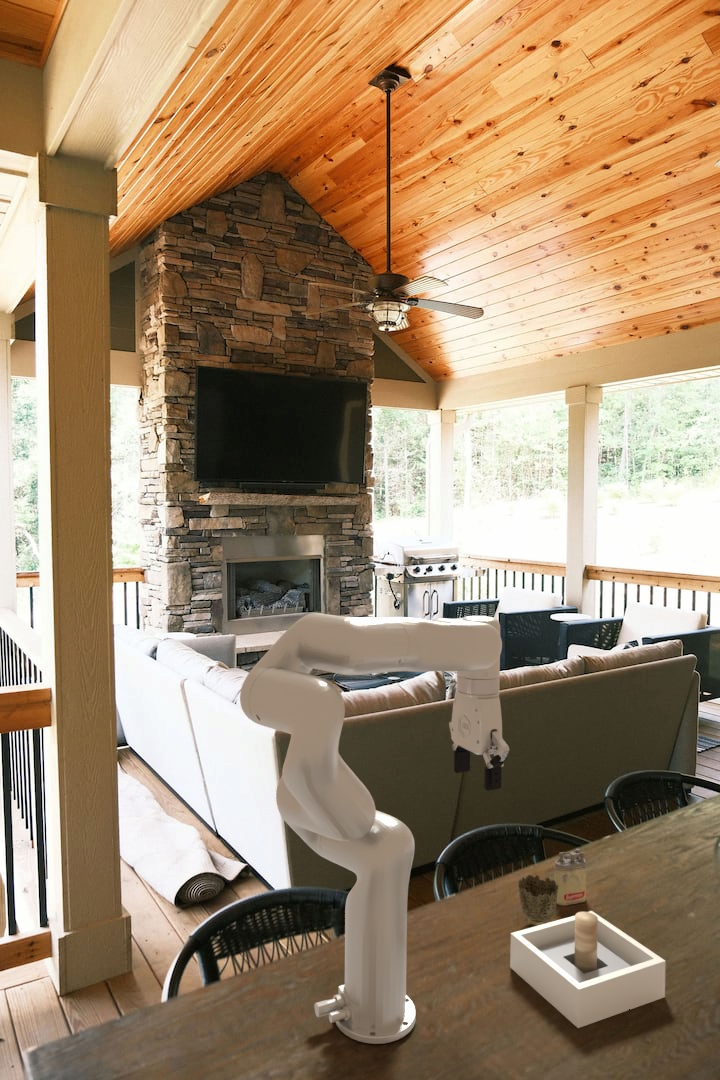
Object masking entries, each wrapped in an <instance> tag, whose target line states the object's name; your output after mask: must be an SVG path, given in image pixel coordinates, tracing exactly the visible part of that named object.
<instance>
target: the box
mask: <svg viewBox="0 0 720 1080" xmlns="http://www.w3.org/2000/svg"><path fill="white" fill-rule="evenodd" d="M588 912H589V913H592V914H594V915H596V916H597V918H598V935H597V970H594V971H591V972H588V973H585V974H584V973H583V972H581V971H580V970H579V969H578V968H576V967H575V966H574V957H575V915H572V916H569V917H564V918H560V919H557V920H554V921H549V922H548V923H546V924H542V925H538V926H535V927H532V926H531V927H527V928H524V929H522V930H517V931H514V932H510V950H509V952H510V953H509V955H510V957H509V959H510V963H509V966H510V969H511V970H513V971H514V972H515V974H517V975H518V976H519V977H520V978H522V980H523V981H525V982H526V983H527V984H528V985H529V986H530V987H531V988H532V989H534V991H536V992H537V993H538V994H539V995H540V996H542V998H544V999H545V1000H546V1001H547V1002H548V1003H549V1004H550V1005H552V1006H553V1007H554V1008H555V1009H556V1010H557V1011H558V1012H559V1013H561V1015H562V1016H564V1017H565V1018H566V1019H567V1020H568V1021H569V1022H570V1023H571V1024H573V1025H574V1026H575V1027H576V1028H577V1029H580V1028H583V1027H585V1026H588V1025H592V1024H593V1023H596V1022H599V1021H602V1020H605V1019H607V1018H611V1017H613V1016H616V1015H620V1014H621V1013H625V1012H627V1011H629V1009H630V1010H633V1009H636V1008H638V1007H641V1006H644V1005H646V1004H649V1003H652V1002H655V1001H657V1000H661V999H664V998H665V997H666V963H667V962H666V960H665V959H663V958H662V957H661V956H659V955H657V954H656V953H654V951H651V950H650V948H648V947H647V946H644V945H643V944H641V943H640V942H638V941H637V940H636V939H634V938H633V937H631V936H630V935H628V934H627V933H625V932H623V931H622V930H621V929H619V927H616V926H615V925H613V924H612V923H611V922H609V921H608V920H606V919H605V918H603V917H601V916H600V915H599V914H597V913H596V912H594V911H593V910H588Z"/></svg>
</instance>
